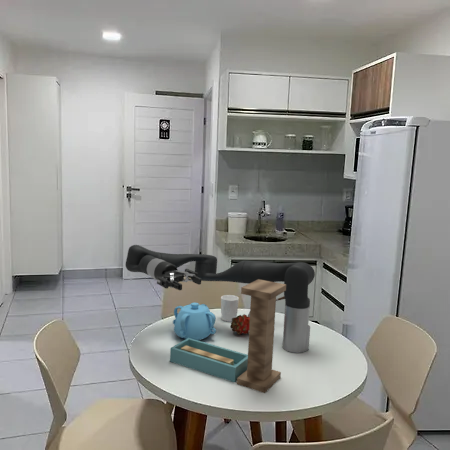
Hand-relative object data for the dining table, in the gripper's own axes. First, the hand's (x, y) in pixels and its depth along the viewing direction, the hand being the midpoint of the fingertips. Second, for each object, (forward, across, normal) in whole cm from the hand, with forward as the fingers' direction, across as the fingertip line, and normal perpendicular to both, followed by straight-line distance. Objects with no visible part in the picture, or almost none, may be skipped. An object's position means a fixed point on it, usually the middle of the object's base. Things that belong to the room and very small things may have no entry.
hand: (191, 284), depth 152 cm
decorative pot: (-15, +16, +31) cm, 38 cm away
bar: (+7, +2, +27) cm, 28 cm away
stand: (+27, +8, +27) cm, 39 cm away
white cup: (-19, +40, +33) cm, 55 cm away
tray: (+8, +3, +28) cm, 29 cm away
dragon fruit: (-4, +33, +31) cm, 46 cm away
